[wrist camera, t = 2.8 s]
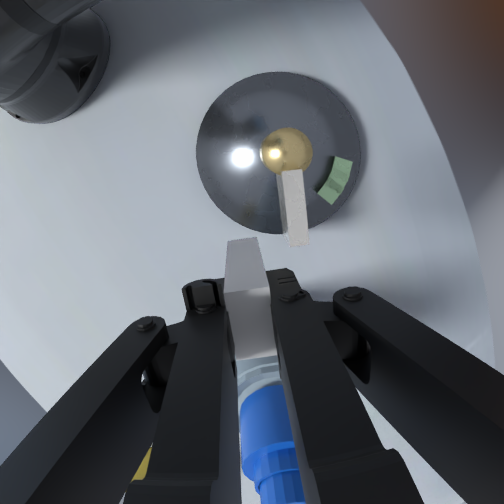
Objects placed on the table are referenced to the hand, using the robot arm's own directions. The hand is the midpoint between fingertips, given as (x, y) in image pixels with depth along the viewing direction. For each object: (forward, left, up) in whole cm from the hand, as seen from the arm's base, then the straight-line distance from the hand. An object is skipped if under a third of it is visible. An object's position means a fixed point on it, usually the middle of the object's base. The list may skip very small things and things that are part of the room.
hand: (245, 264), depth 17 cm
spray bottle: (+14, -2, -18) cm, 23 cm away
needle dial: (-1, +5, -17) cm, 17 cm away
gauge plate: (-4, +6, -18) cm, 19 cm away
